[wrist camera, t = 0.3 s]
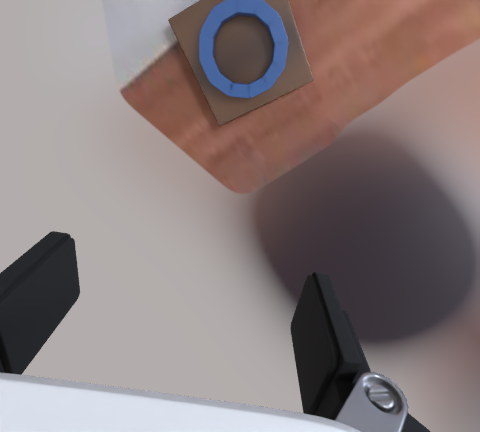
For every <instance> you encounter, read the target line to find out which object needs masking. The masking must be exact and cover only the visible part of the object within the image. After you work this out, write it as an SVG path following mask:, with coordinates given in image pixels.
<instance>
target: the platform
mask: <svg viewBox="0 0 480 432" xmlns="http://www.w3.org/2000/svg"><path fill="white" fill-rule="evenodd" d="M223 1H225V0H200V1H199V2H197V3H195V4H194V5H192V6H190V7H189V8H187V9H185V10H184V11H182V12H180V13H179V14H177V15H175V16H174V17H172V18H170V19H169V20H168V21H169V23H170V25H171V27H172V29H173V31H174V33H175V35H176V37H177V39H178V41H179V44H180V46H181V48H182V50H183V52H184V54H185V56H186V58H187V60H188V62H189V64H190V66H191V68H192V70H193V72H194V75H195V77H196V79H197V81H198V83H199V85H200V87H201V89H202V91H203V93H204V95H205V97H206V99H207V101H208V104H209V106H210V108H211V110H212V112H213V114H214V116H215V118H216V120H217V122H218V124H219V126H221V125H223V124H225V123H227V122H229V121H231V120H233V119H235V118H237V117H239V116H241V115H243V114H246V113H248V112H250V111H252V110H254V109H256V108H258V107H260V106H262V105H264V104H266V103H268V102H270V101H272V100H274V99H277V98H279V97H281V96H283V95H285V94H287V93H289V92H291V91H293V90H295V89H297V88H299V87H301V86H303V85H305V84H307V83H310V82H312V81H313V77H312V74H311V70H310V67H309V64H308V61H307V58H306V55H305V52H304V49H303V46H302V42H301V39H300V36H299V33H298V30H297V27H296V24H295V21H294V17H293V14H292V11H291V8H290V5H289V2H288V0H264V1H265V2H266V3H267V4H268V5H269V6H270V7H272V8H273V9H274V10H275V11H276V12H277V13H278V14H279V16H280V17H281V20H282V22H283V25H284V28H285V31H286V34H287V37H288V50H287V57H286V64H285V67H284V70H283V71H282V73H281V74H280V76H279V77H278V79H277V80H276V82H275V83H274V84H273V86H272V87H270V89H269V90H267V91H265V92H262V93H260V94H258V95H256V96H254V97H252V98H239V97H229V95H228V96H227V95H226V94H224V93H223V92H222V91H220V90H219V89H218V88H216V87H215V86H214V85H212V84H211V83H210V82H211V81H210V82H209V80H208V78H207V76H206V74H205V72H204V69H203V67H202V65H201V63H200V61H199V60H200V59H199V33H201V32H200V30H201V28H202V26H203V24H204V22H205V21H206V19H207V17H208V15H209V13H210V11H211V9H213V7H215V6H216V5H218V4H220V3H221V2H223ZM213 10H214V9H213ZM272 53H273V42H272V40H271V37H270V34H269V31H268V29H267V27H265V26H264V25H263V24H262V23H261V22H260V21H258V20H257V19H256V18H255V17H249V16H239V15H238V16H236V17H234V18H233V19H231V20H229V21H227V22H226V23H224V24H223V25H222V27H221V29H220V31H219V33H218V34H217V36H216V38H215V46H214V58H215V60H216V63H217V65H218V67H219V69H220V72H221V73H222V74H223V75H225V76H226V77H227V78H229V79H230V80H231V81H232V82H236V83H246V84H249V83H251V82H253V81H255V80H257V79H259V78H260V77H262V76H263V74H264V73H265V71H266V70H267V68H268V67H269V65H270V64H271V61H272Z"/></svg>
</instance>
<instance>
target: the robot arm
mask: <svg viewBox="0 0 480 432" xmlns="http://www.w3.org/2000/svg"><path fill="white" fill-rule="evenodd" d="M79 294H80V287H79V277H78V268H77V260H76V251H75V242H74V239H73V238H71V237H70V235H69V234H67V233H60V232H50V233H49V234H48V235H46V236H45V237H44V238H43V239H41V240H40V241H39V242H38V243H37V244H35V245H34V246H33V247H32V248H31V249H29V250H28V251H27V252H26V253H24V254H23V255H22V256H21V257H20V258H18V260H16V261H15V262H14V263H13V264H11V265H10V266H9V267H7V268H6V269H5V270H4V271H3V272H1V273H0V432H430V431H429V430H428V429H427V428H426V427H424V426H423V425H422V424H421V423H419V422H418V421H417V420H416V419H415V418H413V417H412V416H411V415H410V414H409V413H408V404H407V400H406V398H405V396H404V394H403V392H402V391H401V390H400V388H399V387H398V386H397V385H396V384H395V383H394V382H393V381H391V380H390V379H389V378H387V377H385V376H384V375H382V374H378V373H376V372H371V371H370V368H369V366H368V363H367V361H366V358H365V356H364V353H363V351H362V348H361V346H360V343H359V341H358V338H357V336H356V333H355V331H354V328H353V326H352V323H351V321H350V318H349V316H348V314H347V312H346V311H345V310H342V309H341V306H340V303H339V301H338V298H337V296H336V293H335V290H334V288H333V285H332V283H331V280H330V277H329V275H328V274H322V273H316V272H314V273H313V274H312V275H308V276H307V279H306V281H305V284H304V287H303V290H302V293H301V296H300V299H299V302H298V305H297V307H296V310H295V313H294V316H293V320H292V322H291V335H292V342H293V348H294V354H295V361H296V367H297V374H298V380H299V387H300V393H301V400H302V406H303V412H304V413H300V412H293V411H287V410H280V409H274V408H268V407H261V406H254V405H247V404H240V403H232V402H226V401H218V400H211V399H204V398H197V397H189V396H181V395H175V394H167V393H160V392H152V391H144V390H137V389H129V388H121V387H114V386H106V385H98V384H91V383H83V382H75V381H67V380H59V379H51V378H44V377H35V376H28V375H21V374H22V373H23V372H24V370H25V369H26V368H27V366H28V365H29V363H30V362H31V361H32V360H33V358H34V357H35V355H36V354H37V353H38V352H39V350H40V349H41V347H42V346H43V345H44V343H45V342H46V341H47V339H48V338H49V337H50V335H51V334H52V333H53V331H54V330H55V329H56V327H57V326H58V325H59V323H60V322H61V321H62V319H63V318H64V317H65V315H66V314H67V313H68V311H69V310H70V308H71V307H72V306H73V305H74V303H75V302H76V301H77V299H78V297H79Z"/></svg>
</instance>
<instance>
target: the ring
mask: <svg viewBox="0 0 480 432" xmlns="http://www.w3.org/2000/svg"><path fill="white" fill-rule="evenodd" d="M213 9H214V10H213ZM213 9H211V11H210V13H209V15H208V17H207V19H206V21H205V22H204V24H203V26H202V28H201V30H200V32H201V33H199V59H200V60H199V61H200V63H201V65H202V67H203V69H204V72H205V74H206V76H207V78H208V80H209V82H210V81H211V82H210V83H211V84H212V85H214V86H215V87H216V88H218V89H219V90H220V91H222V92H223V93H224V94H226V95H227V96H228V95H229V97H239V98H252V97H254V96H256V95H258V94H260V93H262V92H265V91H267V90H269V89H270V87H272V86H273V84H274V83H275V82H276V80H277V79H278V77H279V76H280V74H281V73H282V71H283V70H284V67H285V64H286V57H287V50H288V37H287V34H286V31H285V28H284V25H283V22H282V20H281V17H280V16H279V14H278V13H277V12H276V11H275V10H274V9H273V8H272V7H270V6H269V5H268V4H267V3H266V2H265V1H264V0H225V1H223V2H221V3H220V4H218V5H216V6H215V7H213ZM238 15H239V16H249V17H255V18H256V19H257V20H258V21H260V22H261V23H262V24H263V25H264V26H265V27H267V29H268V31H269V34H270V37H271V40H272V42H273V53H272V61H271V64H270V65H269V67H268V68H267V70H266V71H265V73H264V74H263V76H262V77H260V78H259V79H257V80H255V81H253V82H251V83H249V84H246V83H236V82H232V81H231V80H230V79H229V78H227V77H226V76H225V75H223V74H222V73H221V72H220V69H219V67H218V65H217V63H216V60H215V58H214V46H215V38H216V36H217V34H218V33H219V31H220V29H221V27H222V25H223V24H224V23H226V22H227V21H229V20H231V19H233V18H234V17H236V16H238Z"/></svg>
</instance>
